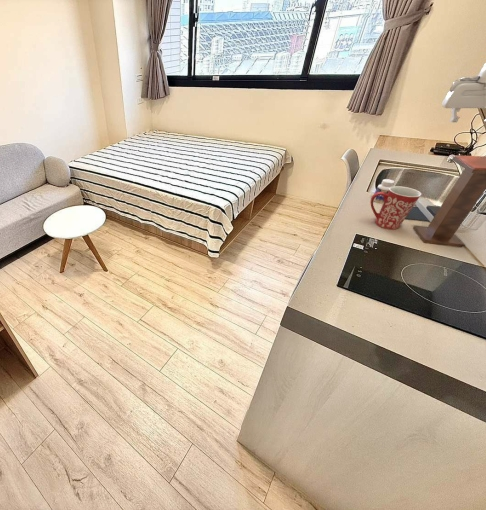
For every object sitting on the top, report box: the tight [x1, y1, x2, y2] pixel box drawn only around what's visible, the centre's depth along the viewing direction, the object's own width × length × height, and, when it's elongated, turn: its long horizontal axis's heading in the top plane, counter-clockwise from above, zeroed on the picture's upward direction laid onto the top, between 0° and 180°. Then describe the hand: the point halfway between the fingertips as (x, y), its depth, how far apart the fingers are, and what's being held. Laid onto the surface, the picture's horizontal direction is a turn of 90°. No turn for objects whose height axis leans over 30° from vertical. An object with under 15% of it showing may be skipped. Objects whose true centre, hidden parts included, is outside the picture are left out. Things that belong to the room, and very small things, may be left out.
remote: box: [414, 197, 441, 223], centre depth 108 cm, size 4×18×3 cm, turn 159°
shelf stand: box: [412, 154, 486, 248], centre depth 88 cm, size 10×12×26 cm
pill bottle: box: [373, 178, 395, 204], centre depth 117 cm, size 5×5×9 cm
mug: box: [370, 185, 422, 230], centre depth 101 cm, size 13×9×14 cm
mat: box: [404, 205, 431, 223], centre depth 109 cm, size 12×12×1 cm
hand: (470, 122), depth 98 cm, fingers open, 8 cm apart
